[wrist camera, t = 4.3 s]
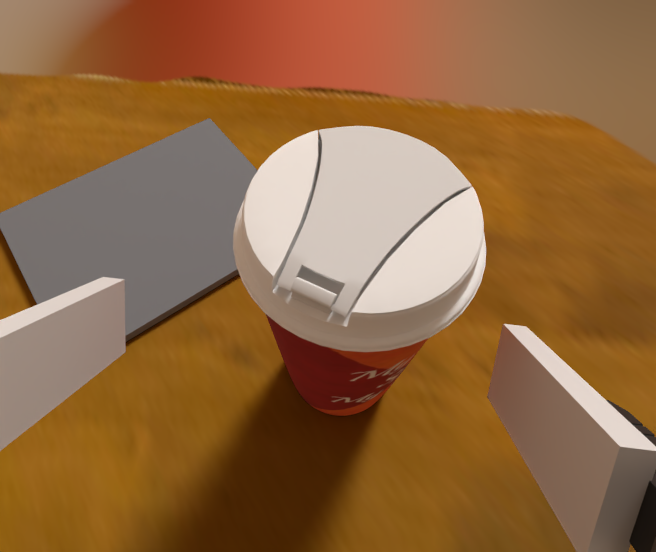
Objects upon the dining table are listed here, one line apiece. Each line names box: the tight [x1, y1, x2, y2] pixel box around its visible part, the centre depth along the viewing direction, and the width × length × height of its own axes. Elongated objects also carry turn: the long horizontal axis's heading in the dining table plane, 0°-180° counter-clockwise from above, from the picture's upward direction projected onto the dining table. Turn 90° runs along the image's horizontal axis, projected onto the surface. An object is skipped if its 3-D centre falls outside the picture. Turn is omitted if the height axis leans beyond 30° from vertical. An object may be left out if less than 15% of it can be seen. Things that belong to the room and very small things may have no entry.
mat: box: [0, 118, 257, 342], centre depth 28 cm, size 16×13×1 cm
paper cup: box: [233, 126, 486, 416], centre depth 18 cm, size 8×8×14 cm
